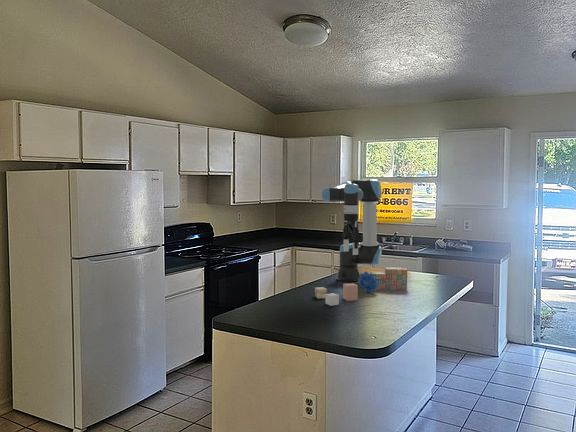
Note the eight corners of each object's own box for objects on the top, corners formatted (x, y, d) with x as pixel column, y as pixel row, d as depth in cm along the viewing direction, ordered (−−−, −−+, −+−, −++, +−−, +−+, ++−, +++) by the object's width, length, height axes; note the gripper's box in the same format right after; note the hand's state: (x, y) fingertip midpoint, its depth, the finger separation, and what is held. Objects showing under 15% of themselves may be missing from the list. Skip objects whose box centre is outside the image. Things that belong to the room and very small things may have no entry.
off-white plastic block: (325, 303, 260) (325, 294, 260) (333, 302, 263) (333, 293, 263) (330, 305, 256) (330, 296, 256) (339, 304, 259) (339, 295, 258)
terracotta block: (343, 298, 273) (343, 283, 272) (353, 297, 274) (353, 283, 274) (346, 300, 267) (347, 285, 266) (357, 300, 268) (357, 285, 268)
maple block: (315, 296, 277) (315, 287, 276) (323, 296, 278) (323, 287, 277) (317, 298, 272) (317, 289, 271) (326, 298, 273) (326, 289, 273)
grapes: (355, 293, 285) (355, 272, 285) (359, 290, 291) (359, 270, 291) (375, 295, 280) (375, 273, 279) (379, 292, 286) (379, 271, 285)
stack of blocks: (370, 289, 296) (370, 268, 295) (369, 287, 302) (369, 266, 301) (407, 290, 294) (407, 269, 293) (405, 288, 300) (406, 267, 299)
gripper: (336, 212, 279) (336, 250, 280) (353, 214, 254) (352, 256, 256) (349, 212, 280) (348, 249, 282) (366, 214, 256) (366, 255, 257)
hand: (350, 253), depth 269 cm, fingers open, 13 cm apart
